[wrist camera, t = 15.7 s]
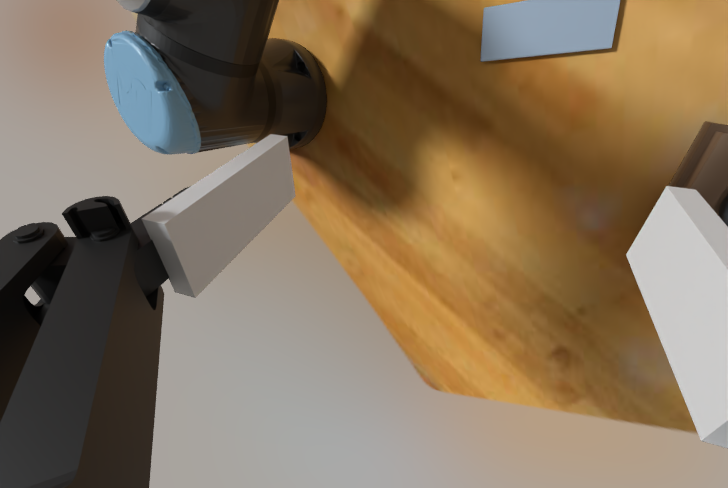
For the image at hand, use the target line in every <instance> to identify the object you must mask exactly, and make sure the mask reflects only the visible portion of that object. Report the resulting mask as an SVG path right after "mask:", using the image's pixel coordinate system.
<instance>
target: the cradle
mask: <svg viewBox="0 0 728 488" xmlns="http://www.w3.org/2000/svg"><path fill="white" fill-rule="evenodd" d="M669 186H672V187H679V188H687V189H695V190H697V191H698V193H699V194H700V195H701V196H702V197H703V198H704V200H705V201H706V202H707V203H708V204H709V205H710V207H711V208H712V209H713V210H714V211H715V212H716V214H717V215H718V216H719V217H720V215H719V209H720V205H721V203H722V201H723V200H724V198H725V197H726V196H727V195H728V125H722V124H716V123H710V122H704V124H703V126H702V128H701V129H700V131H699V133H698V135H697V136H696V138H695V140H694V142H693V143H692V145H691V147H690V149H689V150H688V152H687V154H686V156H685V158H684V159H683V161H682V163H681V165H680V166H679V168H678V170H677V172H676V173H675V175H674V177H673V179H672V180H671V182H670V184H669ZM727 227H728V226H727Z"/></svg>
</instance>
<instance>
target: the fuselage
mask: <svg viewBox="0 0 728 488" xmlns="http://www.w3.org/2000/svg"><path fill="white" fill-rule="evenodd" d="M719 215H720V218H721V219H722V221H723V222H724V223H725V224H726V225H727V226H728V195H727V196H726V197H725V198H724V200H723V201H722V203H721V205H720V209H719Z"/></svg>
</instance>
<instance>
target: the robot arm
mask: <svg viewBox="0 0 728 488" xmlns="http://www.w3.org/2000/svg"><path fill="white" fill-rule="evenodd" d="M117 1H118V3H119V4H120V5H121V6H122V7H123V8H124V9H126V10H129V11H131V12H135V13H138V17H137V26H136V32H135V33H134V32H132V31H122V32H121V33H116V34H114V35H113V36H112V37H111V39H109V40H108V41H107V43H106V46H105V51H104V67H105V74H106V79H107V83H108V86H109V90H110V92H111V95H112V98H113V100H114V103H115V105H116V107H117V108H118V111H119V113H120V115H121V116H122V118H123V120H124V121H125V123H126V125H127V126H128V128H129V129H130V130H131V132H132V133H133V134H134V135H135V136H136V137H137V138H138V139H139V140H140V141H141V142H142V143H143V144H144V145H146V146H147V147H148V148H150V149H152V150H154V151H156V152H159V153H162V154H181V153H188V154H193V153H197V152H202V151H208V150H213V149H219V148H225V147H231V146H236V145H242V144H247V143H253V142H254V143H256V144H255V145H253V146H252V147H250V148H249V149H247V150H246V151H244V152H243V153H241V154H240V155H238V156H237V157H235V158H233V159H232V160H230V161H229V162H227V163H226V164H224V165H223V166H221V167H220V168H218V169H217V170H215V171H214V172H212V173H211V174H209V175H208V176H206V177H205V178H203V179H202V180H200V181H198V182H197V183H195V184H194V185H192V186H190V187H188V188H185V189H183V190H181V191H180V192H179V193H177V194H175V195H174V196H173V198H169V199H168V200H166V201H164V202H163V204H160V205H158V206H157V207H155V208H154V209H152V210H151V211H149V212H148V213H146V214H144V215H143V216H141V217H140V218H138V219H137V220H135V221H134V222H132V223H131V224H130V222H129V220H128V218H127V216H126V214H125V211H124V209H123V207H122V205H121V203H120V201H119V200H118V199H116V198H115V197H109V196H102V197H95V198H90V199H85V200H83V201H80V202H78V203H75V204H74V205H72V206H70V207H68V208H67V209H66V210H65V211H64V212H63V213H62V215H63V216H64V218H65V220H66V221H67V223H68V224H69V226H70V228H71V229H72V231H73V232H74V234H75V236H76V237H64V235H63V234H62V232H61V231H60V229H59V228H58V226H57V225H56V224H53V223H49V222H47V223H46V222H42V223H32V224H28V225H27V226H26V225H24V226H21V227H19V228H18V229H17V230H15V231H12V232H10V233H9V234H7V235H6V236H4V237H3V238H2V239H1V240H0V488H149V481H150V468H151V455H152V442H153V429H154V417H155V403H156V391H157V378H158V365H159V352H160V340H161V327H162V314H163V301H164V292H163V289H162V287H161V284H162V283H164V282H165V281H166V280H167V279H168V278H169V280H170V282H171V284H172V286H173V288H174V291H175V292H177V293H180V294H184V295H187V296H191V297H194V298H196V297H197V296H198V294H199V293H200V292H202V290H204V288H205V287H206V286H207V285H208V284H209V283H210V282H211V281H212V280H213V279H214V278H215V277H216V276H217V275H218V274H219V273H220V272H221V271H222V270H223V269H224V268H225V267H226V266H227V265H228V264H229V263H230V262H231V261H232V260H233V259H234V258H235V257H236V256H237V255H238V254H239V253H240V252H241V251H242V250H243V249H244V248H245V247H246V246H247V245H248V244H249V243H250V242H251V241H252V240H253V239H254V238H255V237H256V236H257V235H258V234H259V233H260V231H261V230H263V229H264V228H265V227H266V226H267V225H268V224H269V223H270V222H271V221H272V219H273V218H274V217H275V216H276V215H277V214H278V213H279V212H280V211H281V210H282V209H283V208H284V207H285V206H286V205H287V204H288V203H289V202H290V201H291V200H292V199H293V198H294V197H295V189H294V181H293V174H292V167H291V159H290V152H289V149H292V148H298V147H301V146H304V145H306V144H307V143H309V142H310V141H311V140H312V139H313V138H314V137H315V136H316V135H317V133H318V132H319V130H320V128H321V126H322V123H323V120H324V117H325V112H326V102H327V101H326V88H325V83H324V79H323V76H322V73H321V71H320V68H319V66H318V64H317V63H316V61H315V59H314V58H313V57H312V55H311V54H310V53H309V52H308V51H307V50H306V49H305V48H304V47H302V46H301V45H299V44H297V43H295V42H293V41H289V40H284V39H277V38H272V39H267V38H268V35H269V32H270V28H271V25H272V22H273V19H274V15H275V12H276V9H277V5H278V2H279V0H117ZM626 256H627V259H628V261H629V264H630V266H631V269H632V271H633V274H634V276H635V279H636V281H637V284H638V286H639V289H640V291H641V293H642V296H643V298H644V301H645V303H646V306H647V308H648V311H649V313H650V316H651V318H652V321H653V323H654V326H655V328H656V331H657V333H658V336H659V338H660V341H661V343H662V345H663V348H664V350H665V353H666V355H667V358H668V360H669V363H670V365H671V368H672V370H673V373H674V375H675V378H676V380H677V383H678V385H679V388H680V390H681V393H682V395H683V397H684V400H685V402H686V405H687V407H688V410H689V412H690V415H691V417H692V420H693V422H694V425H695V427H696V430H697V432H698V435H699V437H700V440H701V441H703V442H707V443H710V444H714V445H717V446H721V447H724V448H728V227H727V225H726V224H725V223H724V222H723V221H722V219H721V218H720V217H719V216H718V215H717V214H716V212H715V211H714V210H713V209H712V208H711V207H710V205H709V204H708V203H707V202H706V201H705V200H704V198H703V197H702V196H701V195H700V194H699V193H698V191H697V190H695V189H687V188H679V187H672V186H666V188H665V189H664V191H663V193H662V194H661V196H660V198H659V200H658V201H657V203H656V205H655V206H654V208H653V210H652V212H651V213H650V215H649V217H648V218H647V220H646V222H645V223H644V225H643V227H642V229H641V230H640V232H639V234H638V235H637V237H636V239H635V240H634V242H633V244H632V246H631V247H630V249H629V251H628V252H627V254H626ZM30 286H31V287H32V288H33V289H34V291H35V292H36V293H37V294H38V296H39V297H40V298H41V299H40V301H39V302H38V303H37V304H36V305H33V304H31V303H30V302H29V300H28V299H27V298H26V297H25V296H24V294H25V292H26V291H27V289H28V288H29V287H30Z"/></svg>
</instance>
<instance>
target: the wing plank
mask: <svg viewBox="0 0 728 488" xmlns="http://www.w3.org/2000/svg"><path fill="white" fill-rule="evenodd" d="M619 5H620V0H527V1H521V2H516V3H510V4H504V5H498V6H492V7H486V8H484V15H483V30H482V46H481V62H484V61H494V60H504V59H514V58H523V57H533V56H543V55H552V54H562V53H572V52H582V51H591V50H601V49H611V48H612V43H613V37H614V32H615V26H616V21H617V16H618V10H619Z"/></svg>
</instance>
